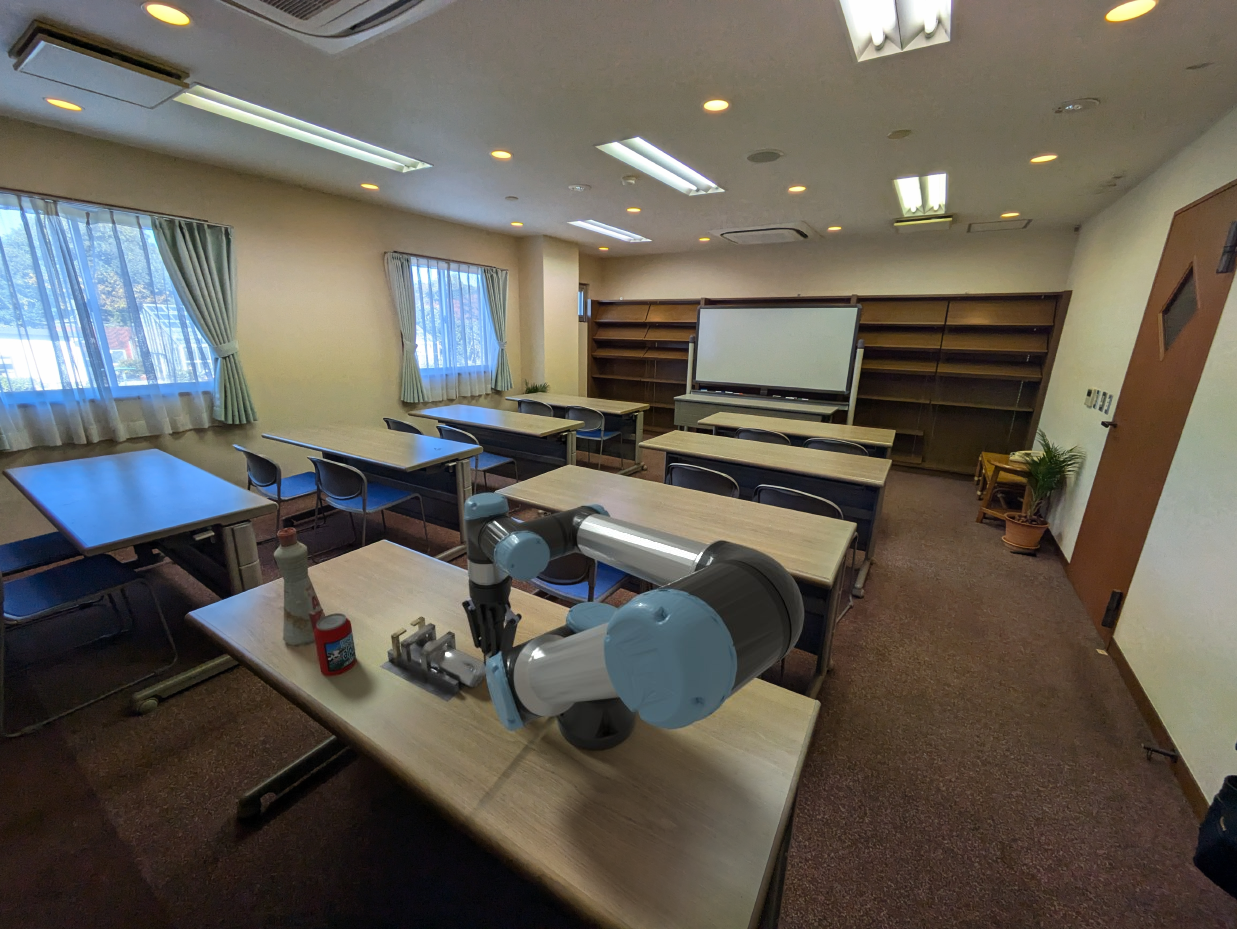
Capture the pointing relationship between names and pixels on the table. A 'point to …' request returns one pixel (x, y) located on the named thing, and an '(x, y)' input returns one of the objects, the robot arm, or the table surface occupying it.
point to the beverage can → (334, 644)
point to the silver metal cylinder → (457, 665)
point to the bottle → (297, 590)
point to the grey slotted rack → (422, 660)
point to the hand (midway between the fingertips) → (494, 680)
